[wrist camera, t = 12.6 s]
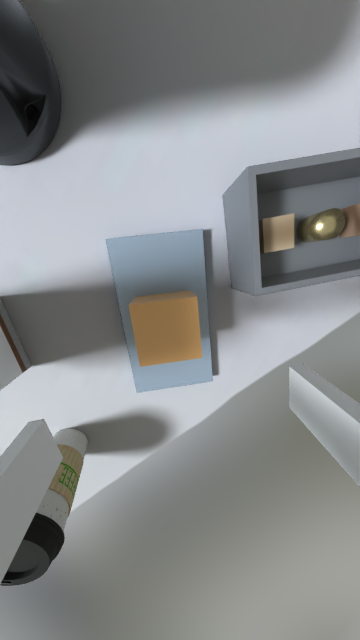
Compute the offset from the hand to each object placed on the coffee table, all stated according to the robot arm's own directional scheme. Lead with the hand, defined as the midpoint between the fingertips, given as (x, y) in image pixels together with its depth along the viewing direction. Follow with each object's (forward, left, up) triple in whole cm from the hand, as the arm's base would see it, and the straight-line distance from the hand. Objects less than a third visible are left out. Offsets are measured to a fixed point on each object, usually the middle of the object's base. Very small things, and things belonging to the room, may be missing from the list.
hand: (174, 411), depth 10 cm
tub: (-9, +23, -21) cm, 32 cm away
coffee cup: (+20, -22, -21) cm, 37 cm away
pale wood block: (-9, +16, -20) cm, 27 cm away
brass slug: (-9, +23, -20) cm, 32 cm away
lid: (0, 0, -20) cm, 20 cm away
